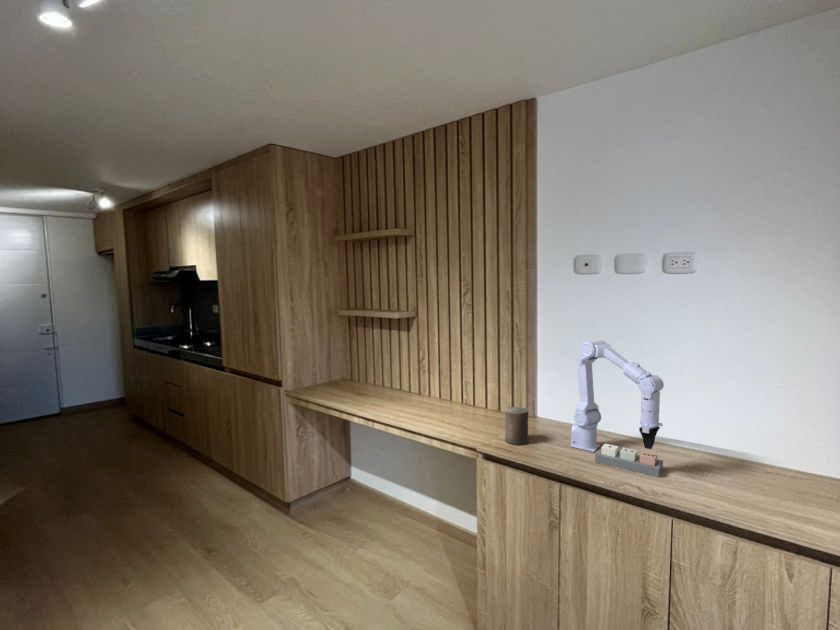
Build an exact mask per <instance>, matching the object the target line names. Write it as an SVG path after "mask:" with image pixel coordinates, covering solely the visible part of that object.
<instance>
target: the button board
mask: <svg viewBox="0 0 840 630" xmlns="http://www.w3.org/2000/svg"><path fill="white" fill-rule="evenodd" d="M601 449H602V447H601V448H600V449H599V450H598V451H597V453H596V454H595V455H594V457H595V458H594V460H595V461H594V463H596V464H601V465H605V466H608V467H613V468H616V467H618V468H617V469H621V468H623V469H622V470H625V469H627V470H626V471H629V470H631V471H630V472H633V471H635V472H634V473H637V472H639V473H638V474H641V473H643V475H646V476H650V477H653V478H659V477H660V476H661V473H662V471H663V469H664V460H663V459H662V460H661V459H658V458H657V465H656V466H652V465H647V464H643V463H640V455H641V454H640V455H638V454H637V460H636V461H635V462H634V461H629V460H625V459H621V458H620V451H621V450H618V455H617V456H616V457H612V456H607V455H603V454H601Z"/></svg>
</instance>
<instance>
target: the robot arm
mask: <svg viewBox="0 0 840 630" xmlns="http://www.w3.org/2000/svg"><path fill="white" fill-rule="evenodd" d="M578 351H579V352H578V354H577V355H578V356H577V359H576V361H577V363H576V364H577V375H578V377H577V378H578V380H577V381H578V393H579V395H578V396H579V403H578V404H577V405H576V407H575V413H574V416H573V418H574V422H575V423H573V424H572V426H571V434H570V435H571V436H570V438H571V439H570V448H575V449H579V450H584V451H587V452H596V451H597V450H598V449H599V447H600V444H597V441H598V440H597V435H598V434H597V433H598V431H597V430H598V426H599V423H600V422H601V420H602V415H601V412H600V410H599V405H598V404H597V403H596V402H595V393H594V392H595V390H594V375H593V363H595V361H597V359H599V358H602V359H603V358H604V359H606V360H609V361H610V362H611V363H613V364H614V365H615V366H617V367H618V368H620V369H622V370H623V371H622V372H623V375H624V376H626V377H627V378H628V379H629V380H631V381H632V382H634V383H635V384H636V385H637V386H638V389H639V391H640V396H641V404H640V419H639V420H640V421H639V423H640V426H641V427H638V430H639V432H640V435H641V437H642V442H643V446H644V449H649V450H652V448H653V447H654V443H655V441H656V436H657V434H658V432H659V430H660V428H661V427H663V423H661V422H660V402H661V401H660V400H661V391H662V390H663V389H664V380H663V379H662V378H661V377H660V376H659V375H657V374H652V373H651V372H650V371H647V370H646V369H644V368H643V367H641V364H640V363H638V362H634V361H633V362H629V361H628V360H627V359H625V357H623V356H622V355H621V354H619V353H618V352H617V351H616V350H615V349H613V347H612V346H611V344H610V343H608V342H606V341H605V340H602V339H599V340H594V341H585V342H583V343H582V344H581V345H580V346H578Z"/></svg>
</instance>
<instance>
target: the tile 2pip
mask: <svg viewBox="0 0 840 630" xmlns="http://www.w3.org/2000/svg"><path fill="white" fill-rule="evenodd" d="M619 451H620V458H621V459H625V460H629V461H634V462H635V461H636V460H637V455H638V449H633V448H627V447H622V448H621V450H619Z"/></svg>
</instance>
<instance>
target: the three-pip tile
mask: <svg viewBox="0 0 840 630" xmlns="http://www.w3.org/2000/svg"><path fill="white" fill-rule="evenodd" d="M657 459H658V454H656V453H652V452H647V451H641V453H640V463H643V464H647V465H652V466H656V465H657Z"/></svg>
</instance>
